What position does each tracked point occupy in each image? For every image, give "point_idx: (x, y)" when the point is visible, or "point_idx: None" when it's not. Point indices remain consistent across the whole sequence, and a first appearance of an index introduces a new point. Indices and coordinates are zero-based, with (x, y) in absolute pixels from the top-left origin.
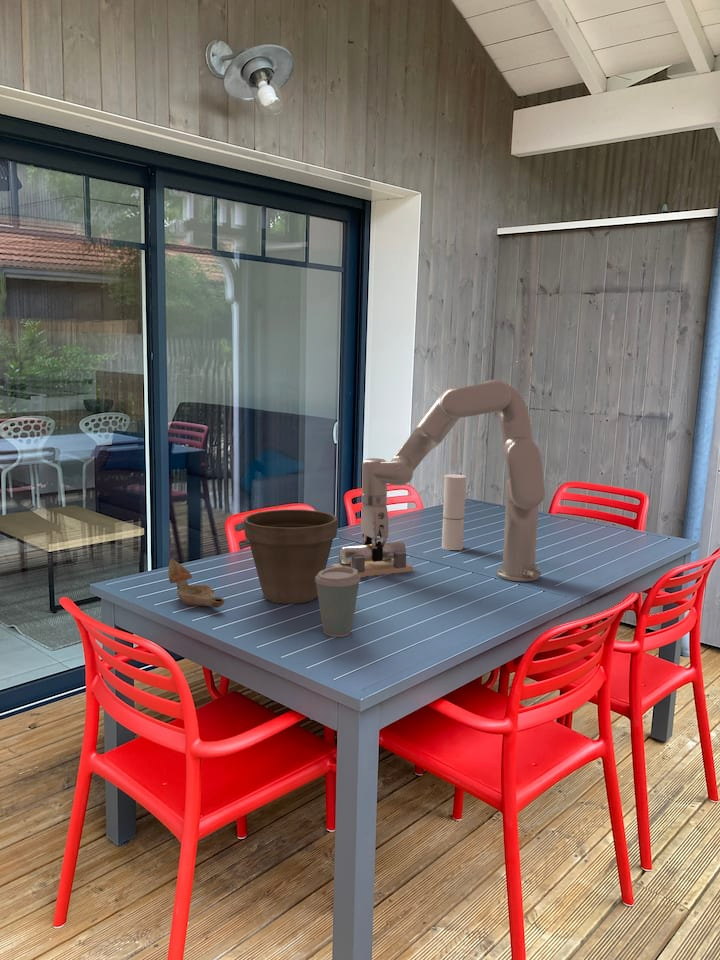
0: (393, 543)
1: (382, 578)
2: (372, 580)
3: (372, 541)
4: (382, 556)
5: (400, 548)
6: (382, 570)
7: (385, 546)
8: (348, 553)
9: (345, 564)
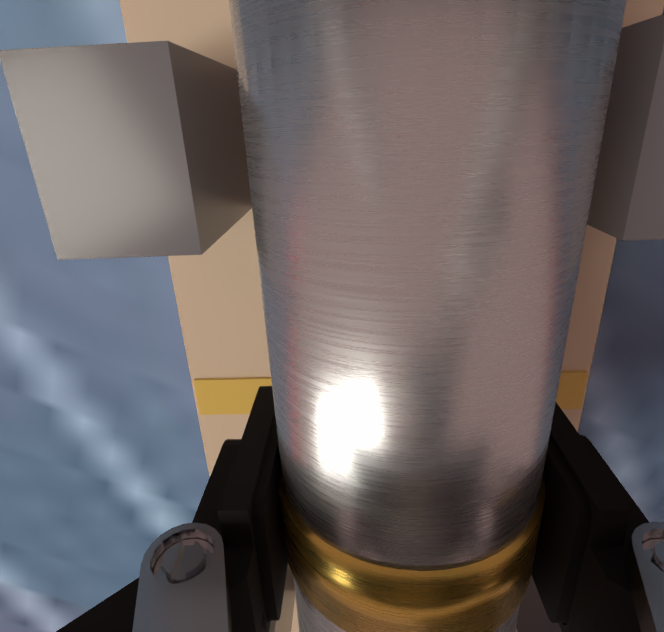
0: (512, 185)
1: (656, 389)
2: (653, 478)
3: (222, 556)
4: (560, 412)
5: (621, 21)
6: (586, 370)
7: (538, 412)
8: None
9: (291, 574)
